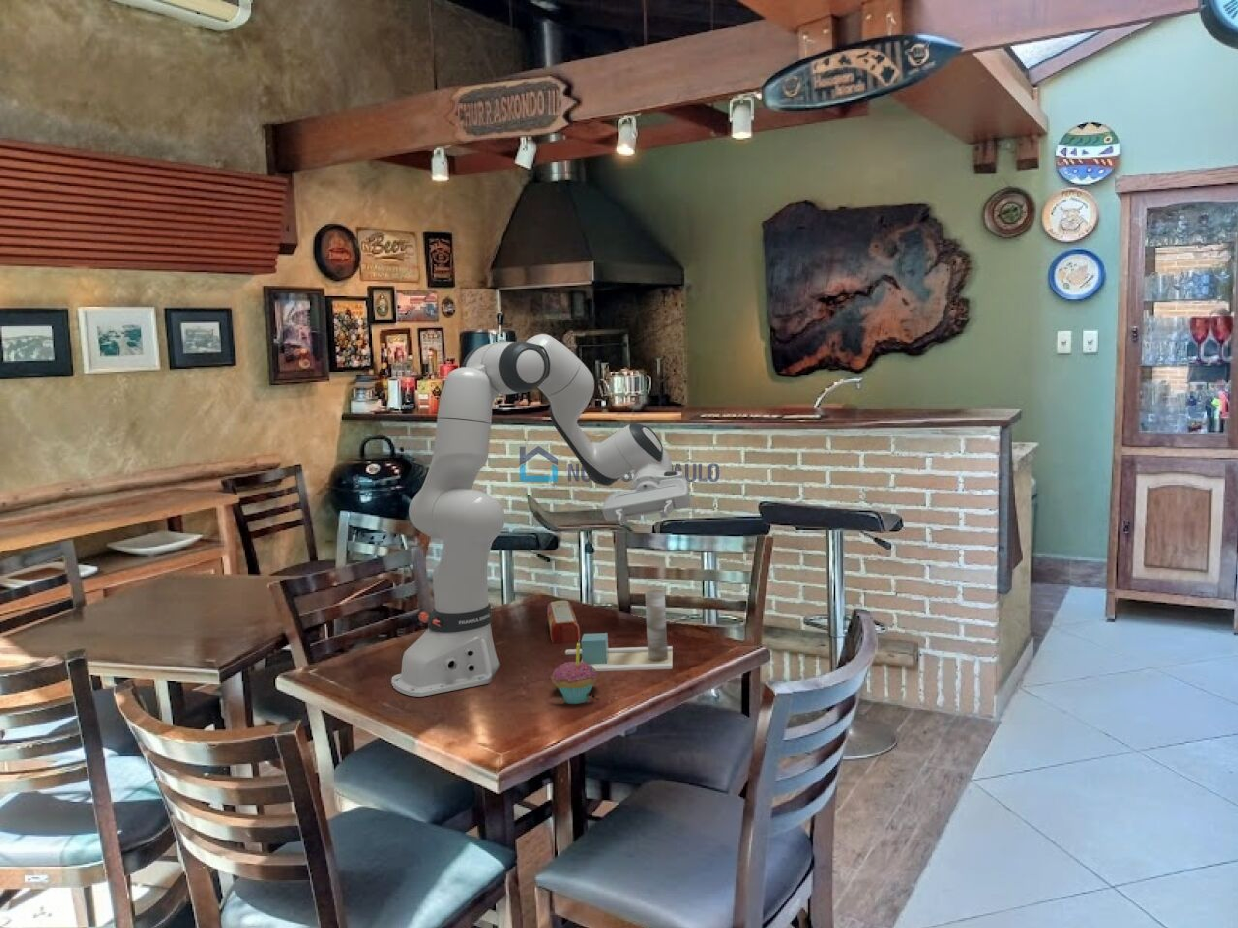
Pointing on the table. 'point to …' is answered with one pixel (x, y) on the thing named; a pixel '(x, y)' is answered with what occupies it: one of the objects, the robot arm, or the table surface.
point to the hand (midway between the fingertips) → (642, 518)
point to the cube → (595, 648)
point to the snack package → (562, 622)
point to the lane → (628, 667)
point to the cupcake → (574, 679)
